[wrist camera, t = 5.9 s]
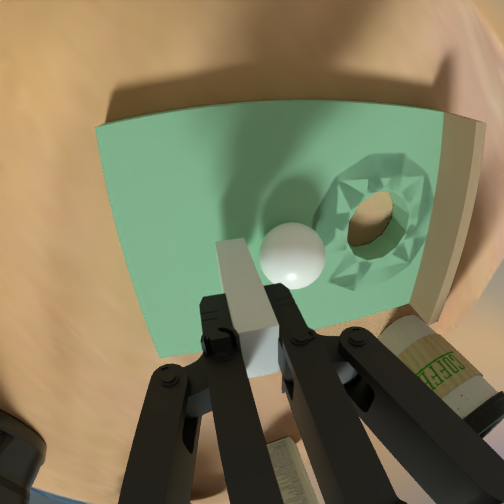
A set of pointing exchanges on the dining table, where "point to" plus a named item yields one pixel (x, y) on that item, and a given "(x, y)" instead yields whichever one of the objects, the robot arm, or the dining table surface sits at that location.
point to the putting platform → (290, 202)
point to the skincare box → (291, 473)
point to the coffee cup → (445, 372)
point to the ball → (292, 255)
